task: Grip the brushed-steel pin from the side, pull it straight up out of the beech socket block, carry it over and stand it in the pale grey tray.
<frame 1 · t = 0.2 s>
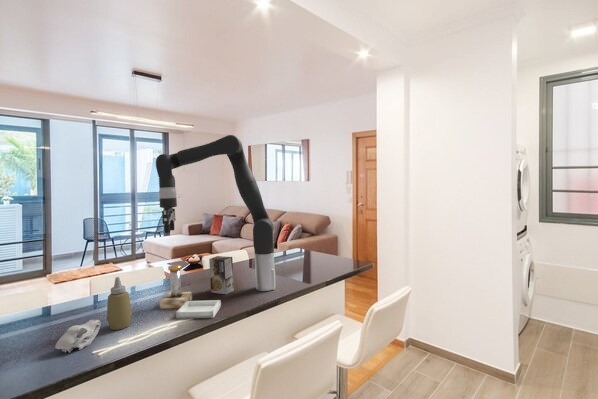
hand: (169, 231, 156), 29 cm above the counter, tool pointing down, fingers open, 8 cm apart
pin: (175, 285, 140), in the socket block
squeeze bottle: (120, 327, 118), on the counter
tray: (199, 312, 130), on the counter
socket block: (176, 303, 140), on the counter
skull: (80, 347, 105), on the counter
coffee box: (222, 291, 155), on the counter
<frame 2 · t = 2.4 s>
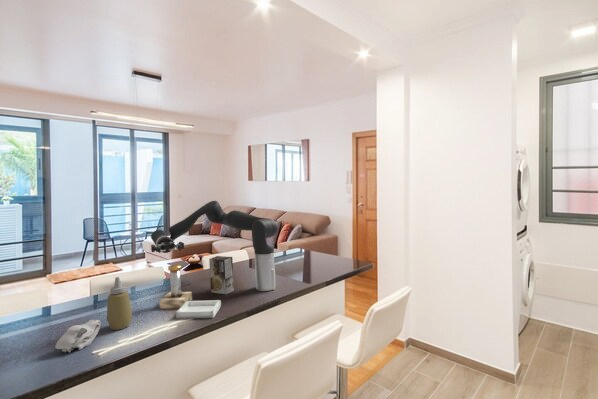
hand: (169, 249, 149), 22 cm above the counter, tool horizontal, fingers open, 8 cm apart
nothing on the counter moved.
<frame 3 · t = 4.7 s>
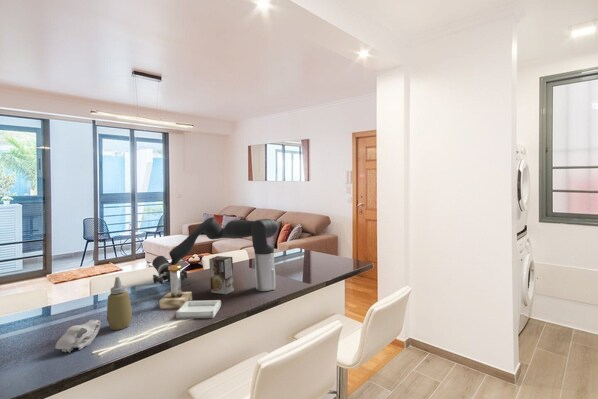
hand: (172, 280, 144), 9 cm above the counter, tool horizontal, fingers open, 8 cm apart
nothing on the counter moved.
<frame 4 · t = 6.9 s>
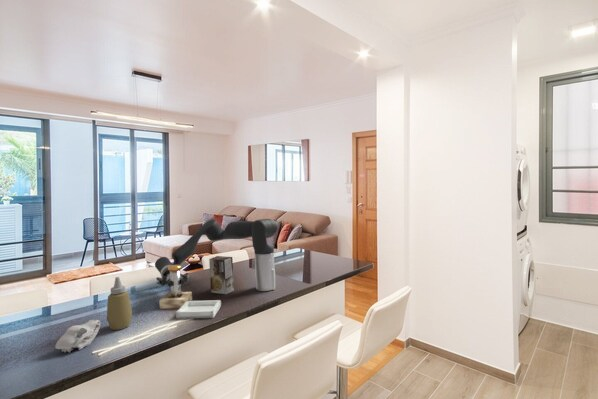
hand: (176, 283, 137), 10 cm above the counter, tool horizontal, fingers closed on pin, 4 cm apart
pin: (175, 285, 140), in the socket block, touching gripper
everything else where it was.
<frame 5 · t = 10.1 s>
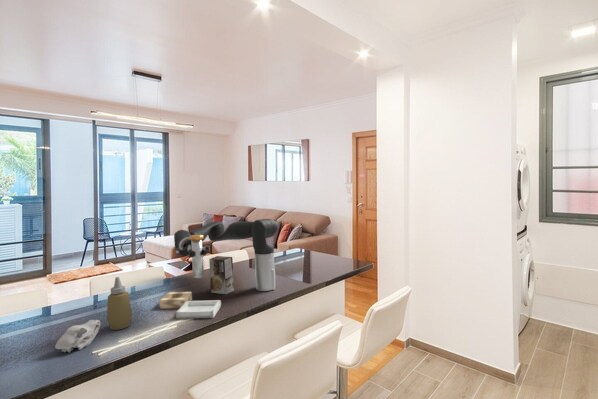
hand: (198, 253, 127), 24 cm above the counter, tool horizontal, fingers closed on pin, 4 cm apart
pin: (197, 256, 129), point 22 cm above the counter, touching gripper
everything else where it was.
when the fingers open (11 cm above the counter, at t = 13.4 s): pin stays where it is, resting on tray.
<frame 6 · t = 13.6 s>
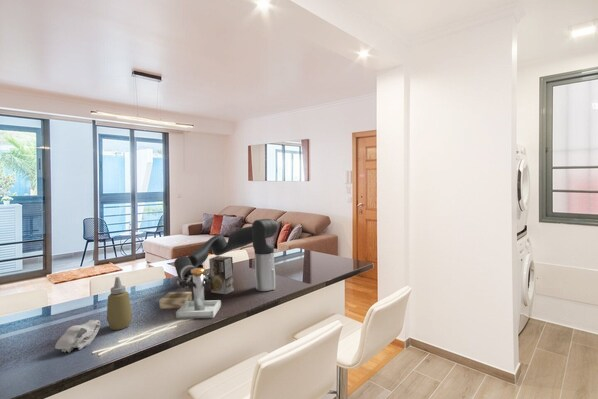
hand: (199, 285, 128), 11 cm above the counter, tool horizontal, fingers open, 5 cm apart
pin: (198, 289, 130), in the tray, point 9 cm above the counter
everything else where it was.
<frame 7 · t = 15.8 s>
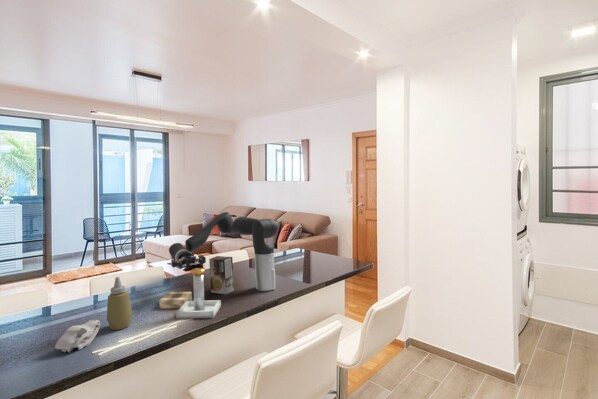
hand: (191, 264, 142), 16 cm above the counter, tool horizontal, fingers open, 8 cm apart
nothing on the counter moved.
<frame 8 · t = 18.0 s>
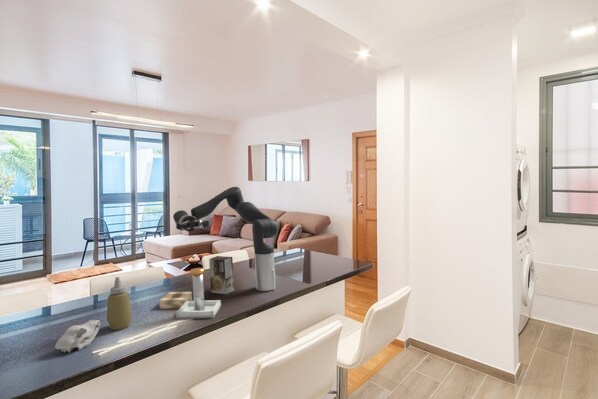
hand: (195, 226, 147), 32 cm above the counter, tool horizontal, fingers open, 8 cm apart
nothing on the counter moved.
at the end: pin inside the target area on the tray (0.1 cm from its centre), point 8.9 cm above the tray's base; pin touching tray; the gripper is holding nothing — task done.
